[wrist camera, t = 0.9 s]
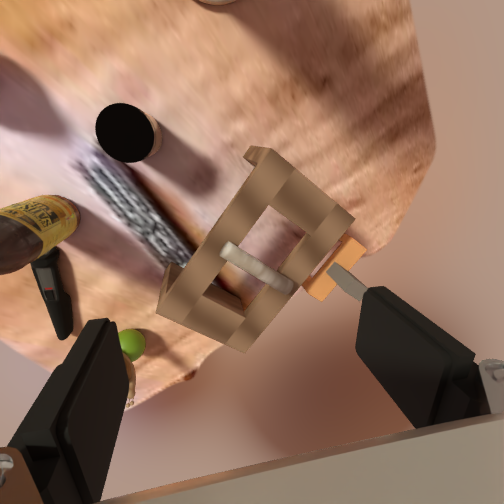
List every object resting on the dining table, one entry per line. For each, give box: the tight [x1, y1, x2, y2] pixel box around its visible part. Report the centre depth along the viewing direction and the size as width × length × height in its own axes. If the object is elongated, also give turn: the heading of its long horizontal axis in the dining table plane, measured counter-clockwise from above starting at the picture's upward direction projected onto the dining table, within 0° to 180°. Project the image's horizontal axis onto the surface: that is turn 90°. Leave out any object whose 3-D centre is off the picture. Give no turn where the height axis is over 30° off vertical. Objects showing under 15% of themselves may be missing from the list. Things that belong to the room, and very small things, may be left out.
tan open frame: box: [156, 146, 355, 353], centre depth 39 cm, size 24×14×14 cm, turn 143°
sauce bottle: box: [0, 195, 80, 275], centre depth 30 cm, size 7×6×20 cm
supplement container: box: [95, 103, 162, 163], centre depth 33 cm, size 6×6×9 cm
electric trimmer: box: [31, 246, 73, 340], centre depth 42 cm, size 4×15×3 cm, turn 178°
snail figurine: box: [118, 329, 146, 408], centre depth 43 cm, size 5×6×12 cm
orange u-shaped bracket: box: [302, 233, 368, 302], centre depth 42 cm, size 10×3×15 cm, turn 143°
